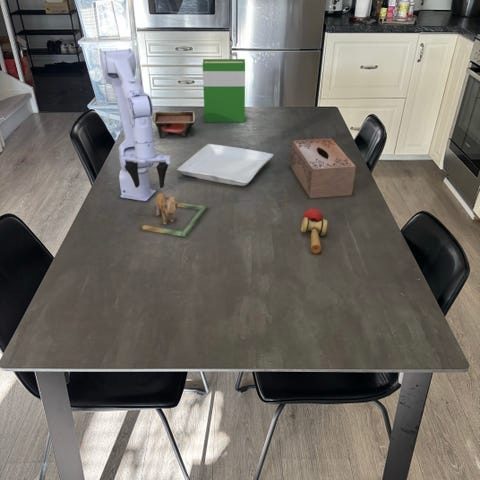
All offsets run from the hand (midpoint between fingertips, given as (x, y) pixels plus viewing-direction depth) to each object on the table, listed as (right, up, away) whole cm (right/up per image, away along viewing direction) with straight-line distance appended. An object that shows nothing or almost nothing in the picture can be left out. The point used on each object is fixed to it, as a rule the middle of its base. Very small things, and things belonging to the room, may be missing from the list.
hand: (149, 186), depth 160 cm
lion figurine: (+4, -8, +6) cm, 11 cm away
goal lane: (+7, -9, +5) cm, 13 cm away
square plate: (+22, +14, +34) cm, 43 cm away
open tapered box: (0, +38, +64) cm, 75 cm away
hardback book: (+20, +49, +78) cm, 95 cm away
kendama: (+49, -16, -3) cm, 52 cm away
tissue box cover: (+55, +9, +28) cm, 63 cm away
